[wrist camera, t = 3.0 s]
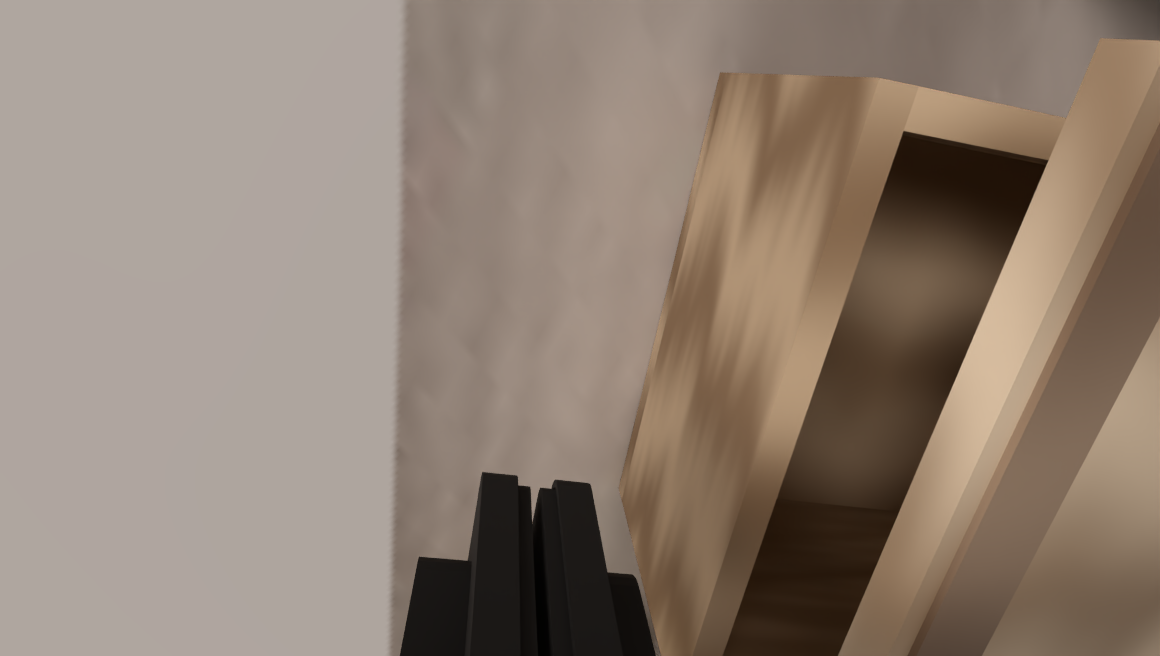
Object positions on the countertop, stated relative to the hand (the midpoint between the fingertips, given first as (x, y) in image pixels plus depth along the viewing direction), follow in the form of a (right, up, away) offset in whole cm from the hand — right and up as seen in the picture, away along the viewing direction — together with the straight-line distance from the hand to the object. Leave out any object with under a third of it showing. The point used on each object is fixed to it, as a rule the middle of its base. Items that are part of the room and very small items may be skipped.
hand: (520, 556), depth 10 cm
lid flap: (+11, -1, +3) cm, 12 cm away
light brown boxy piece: (+10, +4, +15) cm, 18 cm away
